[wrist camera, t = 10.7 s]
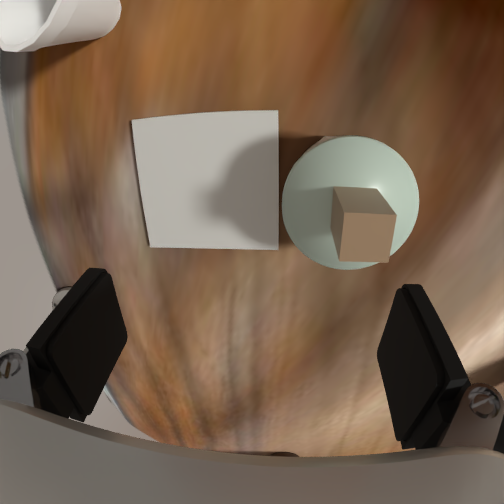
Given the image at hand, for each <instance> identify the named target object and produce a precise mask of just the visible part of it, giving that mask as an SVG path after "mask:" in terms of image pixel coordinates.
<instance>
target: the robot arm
mask: <svg viewBox="0 0 504 504" xmlns="http://www.w3.org/2000/svg"><path fill="white" fill-rule="evenodd" d="M52 305H53V306H52V307H53V311H52V312H51V313H50V315H49V316H48V317H47V319H46V320H45V321H44V322H43V324H42V325H41V326H40V327H39V329H38V330H37V331H36V333H35V334H34V335H33V337H32V338H31V339H30V341H29V342H28V343H27V345H26V348H25V349H24V351H22V350H19V349H10V350H6V351H4V352H2V353H1V354H0V504H504V400H503V398H502V396H501V394H500V393H499V392H498V391H497V390H496V389H495V388H494V387H492V386H491V385H488V384H485V383H475V384H472V385H471V384H470V381H469V379H468V376H467V374H466V372H465V370H464V367H463V365H462V363H461V361H460V359H459V357H458V354H457V352H456V350H455V348H454V346H453V344H452V342H451V340H450V338H449V336H448V334H447V332H446V330H445V328H444V326H443V324H442V322H441V320H440V318H439V316H438V315H437V313H436V311H435V309H434V307H433V305H432V303H431V302H430V300H429V298H428V296H427V294H426V293H425V291H424V289H423V287H422V286H421V285H419V284H404V285H403V286H402V288H401V289H400V288H399V289H397V291H396V294H395V297H394V301H393V304H392V307H391V310H390V314H389V317H388V320H387V323H386V326H385V329H384V332H383V335H382V338H381V341H380V344H379V347H378V350H377V359H378V363H379V367H380V371H381V375H382V379H383V383H384V387H385V391H386V396H387V400H388V405H389V409H390V414H391V418H392V423H393V428H394V433H395V437H396V440H397V441H401V445H402V449H410V448H415V449H416V450H410V451H402V452H393V453H383V454H370V455H355V456H336V457H281V456H261V455H246V454H235V453H225V452H216V451H208V450H201V449H194V448H188V447H181V446H176V445H170V444H165V443H159V442H154V441H149V440H145V439H140V438H136V437H131V436H127V435H123V434H119V433H115V432H111V431H108V430H104V429H101V428H97V427H93V426H90V425H87V424H83V423H80V422H77V421H74V420H71V419H68V418H69V416H70V418H72V419H75V420H78V421H81V422H84V421H85V418H86V416H87V415H90V414H91V413H92V411H93V409H94V407H95V405H96V403H97V401H98V398H99V396H100V394H101V392H102V390H103V388H104V386H105V384H106V382H107V380H108V378H109V376H110V374H111V372H112V370H113V368H114V366H115V364H116V362H117V360H118V358H119V356H120V354H121V352H122V350H123V348H124V346H125V344H126V342H127V331H126V327H125V324H124V321H123V317H122V314H121V310H120V307H119V303H118V300H117V296H116V292H115V288H114V284H113V281H112V277H111V275H110V274H109V273H107V271H106V270H105V269H101V268H89V269H87V270H86V272H85V273H84V274H83V275H82V276H81V277H80V278H79V280H78V281H77V282H76V283H75V284H74V285H73V287H66V288H63V289H61V290H59V291H58V292H57V294H56V295H55V296H54V298H53V302H52Z"/></svg>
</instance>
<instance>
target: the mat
mask: <svg viewBox="0 0 504 504" xmlns="http://www.w3.org/2000/svg"><path fill="white" fill-rule="evenodd" d="M132 129H133V138H134V146H135V154H136V162H137V169H138V176H139V183H140V190H141V196H142V202H143V208H144V214H145V220H146V226H147V231H148V236H149V242H150V247H167V248H216V249H263V250H278V247H279V140H278V110H247V111H221V112H204V113H191V114H179V115H169V116H160V117H151V118H143V119H135V120H132Z"/></svg>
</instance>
